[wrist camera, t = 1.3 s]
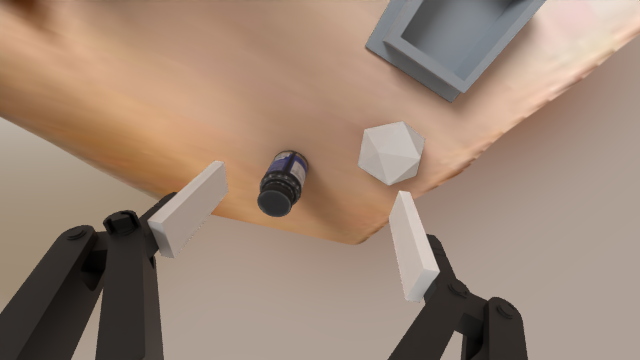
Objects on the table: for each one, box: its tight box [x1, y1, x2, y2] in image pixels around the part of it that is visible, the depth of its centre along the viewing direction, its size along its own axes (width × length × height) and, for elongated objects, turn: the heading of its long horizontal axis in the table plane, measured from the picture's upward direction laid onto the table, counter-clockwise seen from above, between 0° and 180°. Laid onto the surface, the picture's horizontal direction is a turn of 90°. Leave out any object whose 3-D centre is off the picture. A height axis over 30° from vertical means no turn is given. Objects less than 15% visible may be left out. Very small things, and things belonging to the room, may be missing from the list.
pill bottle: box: [257, 151, 308, 217], centre depth 35 cm, size 6×6×11 cm
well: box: [365, 0, 546, 103], centre depth 24 cm, size 14×14×4 cm
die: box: [358, 121, 425, 186], centre depth 32 cm, size 8×9×10 cm
